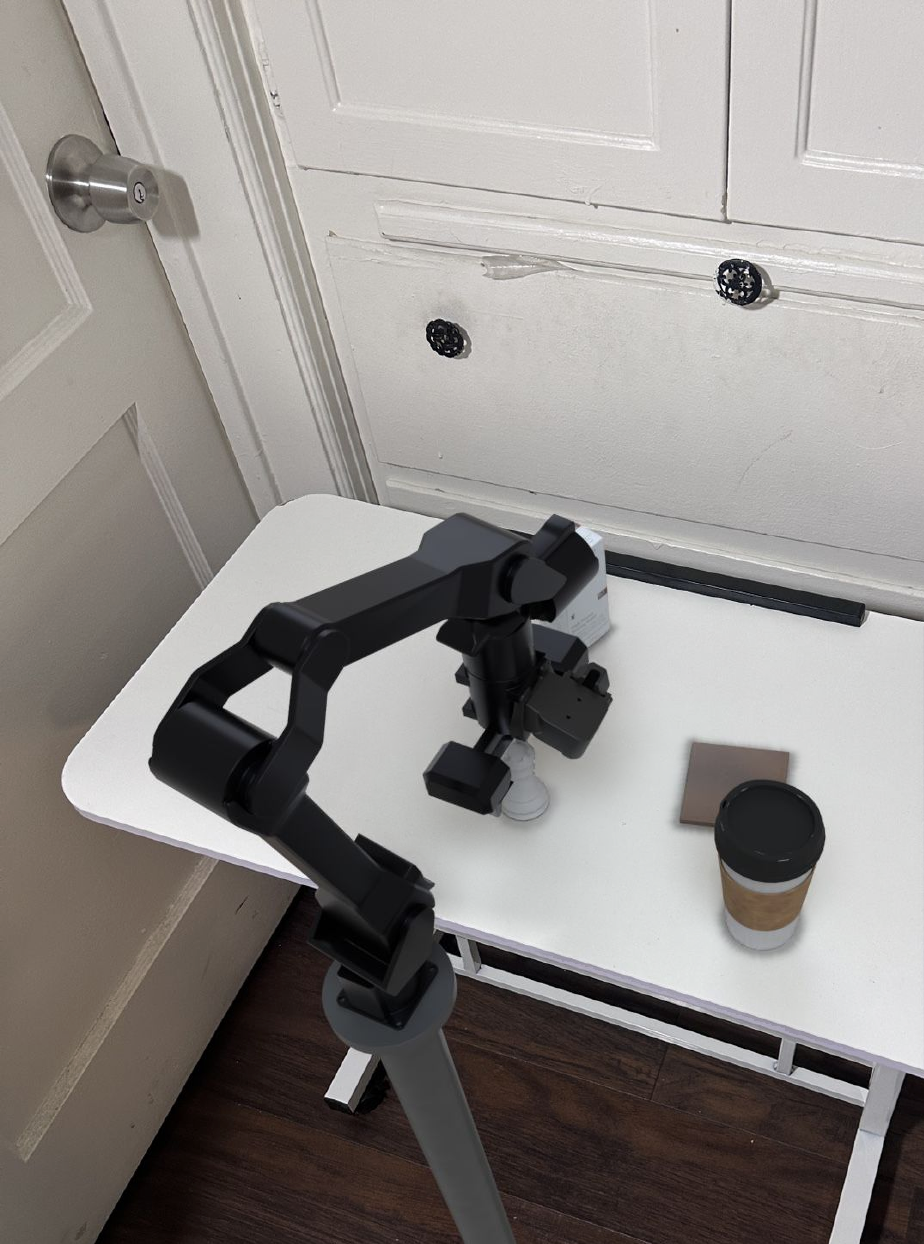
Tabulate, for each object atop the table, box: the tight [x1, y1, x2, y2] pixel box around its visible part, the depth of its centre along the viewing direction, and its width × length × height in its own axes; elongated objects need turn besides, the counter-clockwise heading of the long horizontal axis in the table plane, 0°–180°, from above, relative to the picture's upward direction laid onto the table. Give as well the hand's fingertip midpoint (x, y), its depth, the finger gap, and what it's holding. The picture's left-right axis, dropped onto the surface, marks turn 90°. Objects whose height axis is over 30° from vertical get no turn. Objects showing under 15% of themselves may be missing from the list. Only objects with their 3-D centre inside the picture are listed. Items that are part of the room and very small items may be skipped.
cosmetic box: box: [539, 520, 611, 648], centre depth 120 cm, size 6×4×12 cm
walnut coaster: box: [679, 741, 790, 828], centre depth 112 cm, size 9×9×1 cm
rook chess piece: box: [502, 739, 550, 821], centre depth 109 cm, size 4×4×8 cm
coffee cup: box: [713, 779, 827, 951], centre depth 97 cm, size 8×8×15 cm
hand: (519, 775), depth 108 cm, fingers open, 9 cm apart
